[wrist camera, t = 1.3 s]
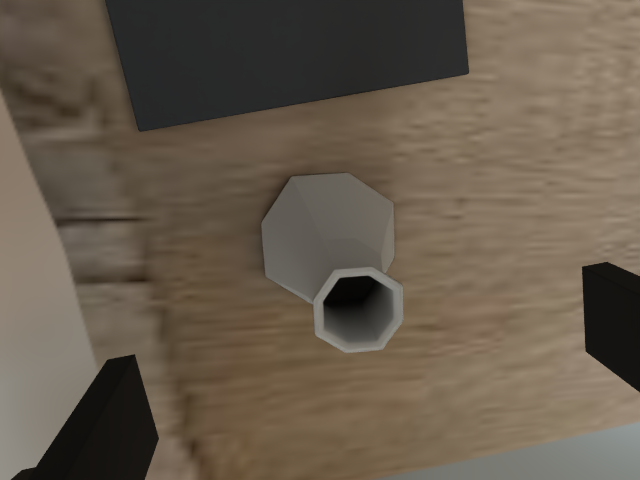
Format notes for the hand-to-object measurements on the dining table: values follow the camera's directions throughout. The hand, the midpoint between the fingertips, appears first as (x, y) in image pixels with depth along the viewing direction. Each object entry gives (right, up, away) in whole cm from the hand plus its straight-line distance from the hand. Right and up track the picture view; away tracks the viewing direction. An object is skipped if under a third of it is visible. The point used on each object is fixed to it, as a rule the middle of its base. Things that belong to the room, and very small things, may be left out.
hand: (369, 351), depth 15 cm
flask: (-1, +3, +12) cm, 13 cm away
